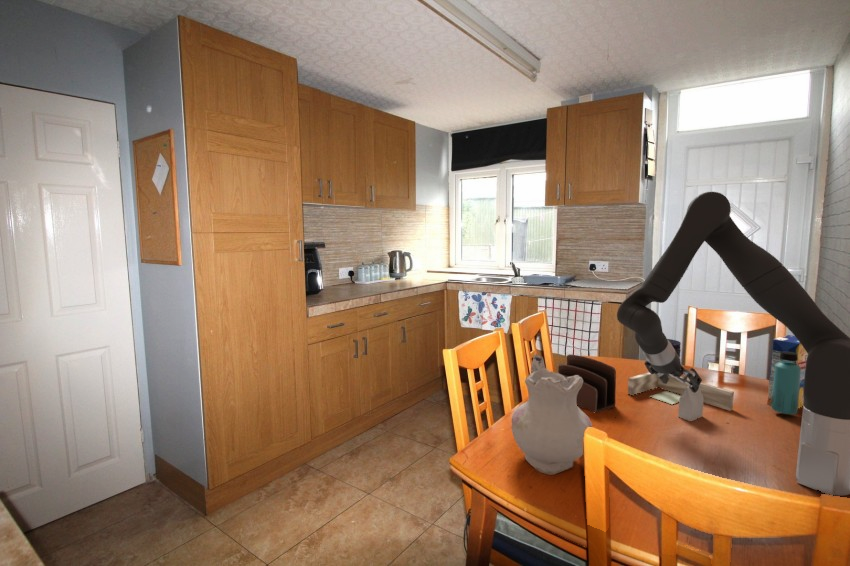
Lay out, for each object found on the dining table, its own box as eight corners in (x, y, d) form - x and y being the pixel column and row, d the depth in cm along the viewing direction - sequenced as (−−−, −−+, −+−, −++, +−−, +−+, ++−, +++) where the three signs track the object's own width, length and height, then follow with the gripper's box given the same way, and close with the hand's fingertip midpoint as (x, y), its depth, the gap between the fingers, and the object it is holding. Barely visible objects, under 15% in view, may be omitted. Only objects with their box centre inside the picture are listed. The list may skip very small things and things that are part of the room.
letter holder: (567, 388, 158) (568, 351, 156) (615, 407, 141) (617, 365, 139) (548, 394, 153) (549, 355, 151) (595, 414, 136) (597, 370, 134)
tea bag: (702, 416, 133) (704, 385, 132) (690, 421, 130) (692, 389, 129) (689, 412, 137) (692, 381, 135) (678, 417, 133) (680, 385, 132)
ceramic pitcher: (494, 448, 117) (489, 360, 113) (554, 431, 123) (551, 347, 120) (542, 493, 97) (538, 388, 93) (611, 470, 103) (610, 370, 99)
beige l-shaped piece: (703, 421, 130) (705, 402, 129) (627, 394, 152) (628, 377, 151) (732, 409, 138) (733, 391, 138) (656, 385, 160) (657, 369, 159)
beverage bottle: (802, 420, 130) (809, 355, 128) (777, 418, 132) (783, 354, 129) (789, 411, 137) (795, 349, 134) (765, 409, 138) (770, 348, 136)
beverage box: (766, 404, 143) (773, 339, 140) (782, 397, 148) (788, 334, 145) (792, 411, 137) (799, 343, 134) (807, 404, 142) (814, 339, 139)
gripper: (692, 349, 117) (711, 382, 124) (642, 338, 129) (662, 368, 136) (680, 371, 114) (700, 404, 122) (630, 358, 127) (651, 388, 134)
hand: (680, 385), depth 129 cm, fingers open, 8 cm apart
